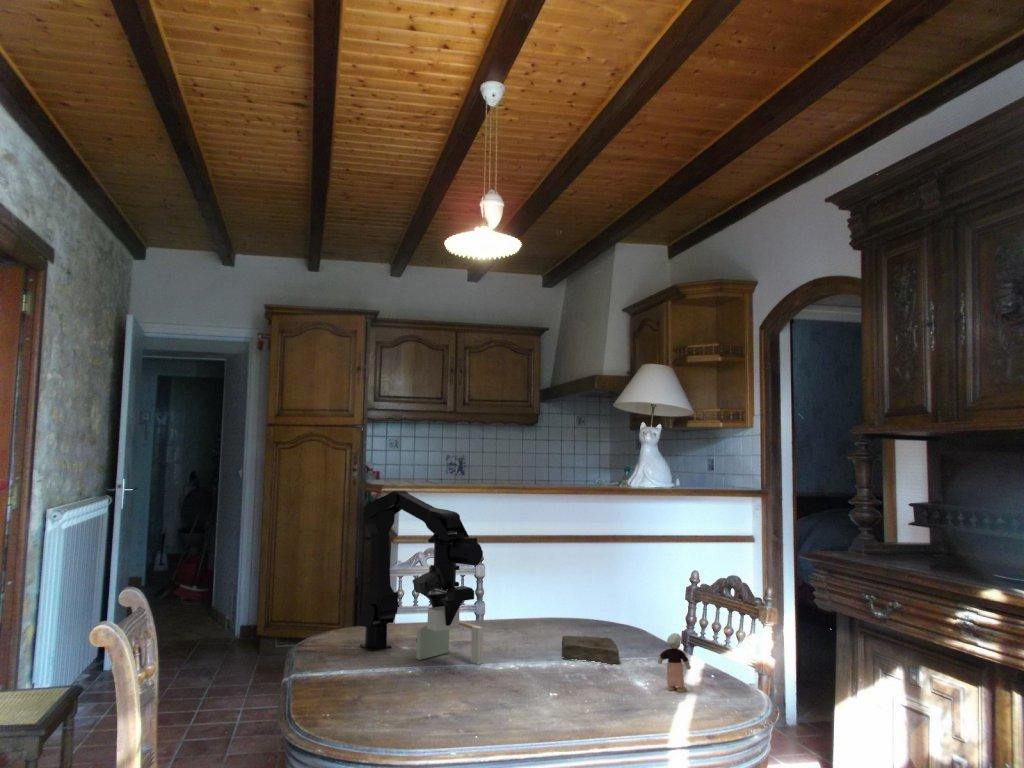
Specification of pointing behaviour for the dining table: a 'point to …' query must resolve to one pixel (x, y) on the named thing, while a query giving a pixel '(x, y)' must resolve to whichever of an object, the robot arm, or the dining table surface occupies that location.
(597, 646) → the brown stone slab
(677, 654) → the grandmother figurine
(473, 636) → the wall frame
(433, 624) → the block
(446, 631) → the door
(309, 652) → the dining table surface
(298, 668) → the dining table surface
